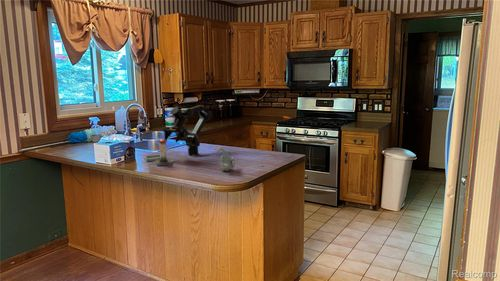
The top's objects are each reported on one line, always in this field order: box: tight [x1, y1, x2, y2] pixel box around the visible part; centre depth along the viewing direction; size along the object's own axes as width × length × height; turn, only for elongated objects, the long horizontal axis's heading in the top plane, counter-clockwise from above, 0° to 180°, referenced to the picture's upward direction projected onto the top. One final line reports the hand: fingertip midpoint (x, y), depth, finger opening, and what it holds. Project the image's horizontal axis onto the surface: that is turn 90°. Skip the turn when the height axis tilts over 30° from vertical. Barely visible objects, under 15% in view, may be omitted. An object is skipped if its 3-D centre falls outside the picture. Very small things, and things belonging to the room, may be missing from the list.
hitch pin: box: [157, 138, 168, 162], centre depth 238 cm, size 6×6×16 cm
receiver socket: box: [154, 158, 174, 167], centre depth 239 cm, size 9×9×2 cm
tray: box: [144, 154, 160, 163], centre depth 253 cm, size 13×10×2 cm
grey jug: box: [216, 146, 236, 172], centre depth 219 cm, size 17×10×15 cm, turn 5°
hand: (170, 141), depth 244 cm, fingers open, 9 cm apart
